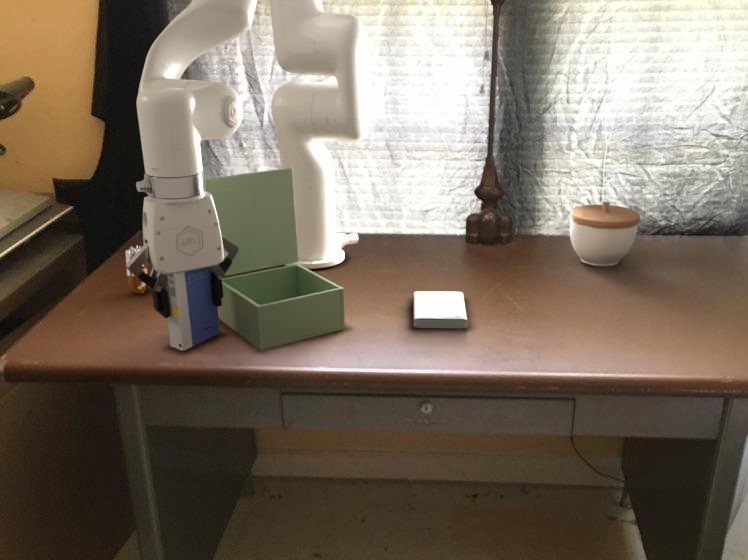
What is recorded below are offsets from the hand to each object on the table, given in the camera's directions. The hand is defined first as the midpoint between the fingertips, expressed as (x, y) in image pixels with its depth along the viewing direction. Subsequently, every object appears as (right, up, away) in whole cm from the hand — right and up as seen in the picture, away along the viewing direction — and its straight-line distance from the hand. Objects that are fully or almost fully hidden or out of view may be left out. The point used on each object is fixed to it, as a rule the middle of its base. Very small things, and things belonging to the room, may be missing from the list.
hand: (190, 308), depth 122 cm
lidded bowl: (+68, +13, +38) cm, 79 cm away
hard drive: (+37, 0, +13) cm, 39 cm away
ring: (-13, +5, +21) cm, 26 cm away
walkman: (0, -5, +3) cm, 5 cm away
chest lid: (+8, +14, +7) cm, 18 cm away
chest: (+12, -2, +9) cm, 15 cm away
